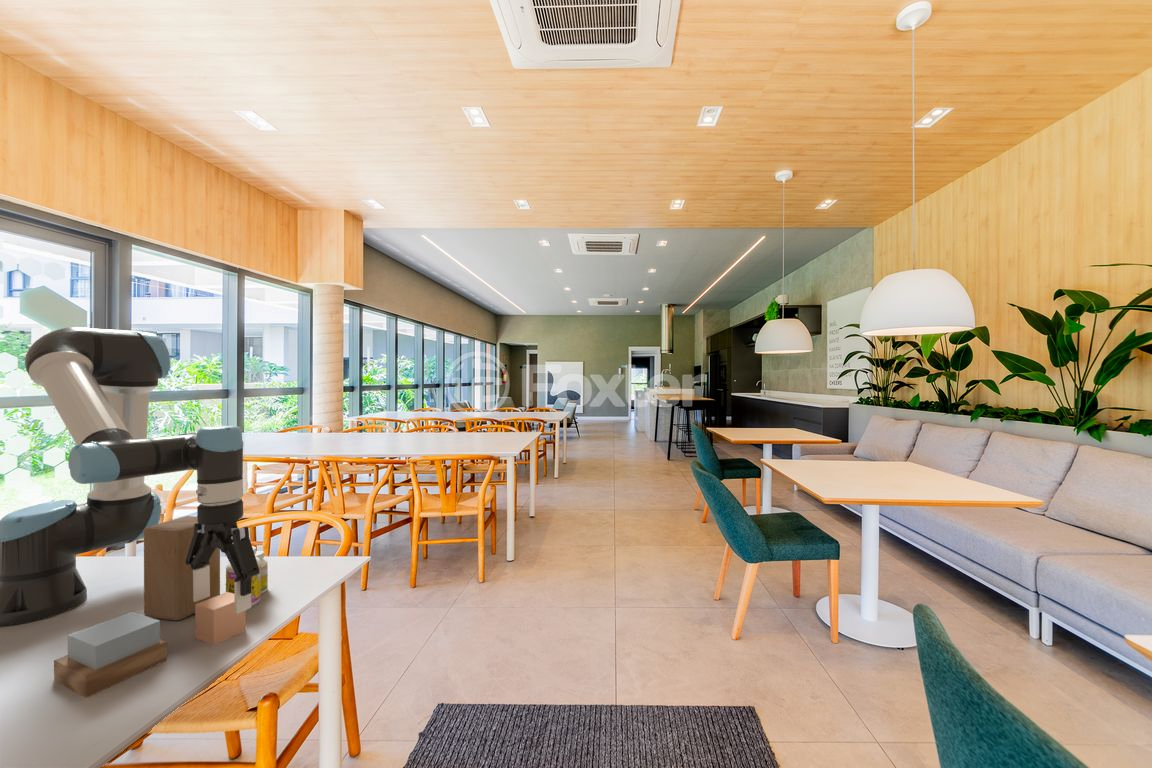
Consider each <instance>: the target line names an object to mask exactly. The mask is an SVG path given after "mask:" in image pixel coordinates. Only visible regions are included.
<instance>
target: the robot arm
mask: <svg viewBox="0 0 1152 768" xmlns="http://www.w3.org/2000/svg"><path fill="white" fill-rule="evenodd" d="M25 354H26V355H25V359H24V366H25V371H26V373H27V374H28V376H29V378H30V380H32V382H33V383H35V384H36V385H38V386H40V387H42V388H44V390H45V392H46V394H47V396H48V398H49V399H50V400H51V403H52V404H53V406H54V407H55V410H56V411H57V413H58V415H59V416H60V419H61V420H62V422H63V423H64V425H65V427H66V429H67V432H69V434H70V436H71V438H72V439H73V442H74V443H75V445H74V446H73V447H72V448H71V450H70V451H69V454H68V460H67V461H68V463H67V464H68V465H67V466H68V469H69V473H70V477H71V478H72V480H73V481H74V482H76V483H77V484H81V485H85V484H86V485H87V484H96V487H95V488H93V489H91V490H90V491H89V492H88V493H87V496H86V502H85V503H81V504H78V503H76V501H75V500H73V499H63V500H56V501H48V502H43V503H38V504H35V505H30V506H27V507H23V508H20V509H17V510H14V511H12V512H10V513H8V514H6V515H4V516H3V517H2V518H1V519H0V627H5V626H13V625H20V624H25V623H31V622H35V621H39V620H42V619H46V618H50V617H53V616H56V615H58V614H59V615H60V614H62V613H64V612H67V611H69V610H71V609H74V608H76V607H77V606H80V605H81V604H83V603H84V602H85V601H86V600H87V598H88V593H87V592H88V590H87V585H85V584H86V583H85V582H84V581H83V579H82V576H81V575H80V573H79V571H78V569H77V559H76V558H77V555H81V554H84V553H90V552H93V551H98V550H102V549H106V548H111V547H115V546H119V545H124V544H125V545H126V544H131V543H133V542H136V541H139V540H142V539H143V540H144V530H145V528H147V527H149V526H153V525H156V524H160V521H161V517H162V505H161V503H162V501H161V499H160V497H159V495H158V494H157V493H155V492H152V487H150V486H149V485H148V484H146V483H145V477H148V476H155V475H162V474H163V475H164V474H170V473H176V472H184V471H193V470H194V471H196V483H197V489H196V490H195V493H196V494H197V503H199V505H198V506H197V507H196V508H197V509H196V511H197V512H196V513H197V516H196V517H197V521H198V523H195V525H194V534H193V538H192V541H191V544H190V547H189V551H188V554H187V557H186V560H185V563H186V565H189V564H190V565H191V569H193V601H194V602H196V601H199V600H202V599H204V598H207V597H210V566H208V565H207V564H210V563H209V559H210V557H211V556H212V554H213V552H214V550H215V549H216V547H217V548H218V549H220V553H224V554H225V556H226V558H227V560H228V563H229V562H230V564H231V566H232V568H233V570H234V572H235V574H236V576H237V578H236V579H235V580H234V601H235V613H236V614H238V613H240V612H243V611H245V612H246V611H247V610H249V609H251V608H252V606H251V578H252V576H255V575H257V574H259V573H260V570H259V567H258V564H257V561H256V557H255V554H254V551H253V548H252V546H253V545H252V542H251V538H250V530H249V527H248V526H243V527H238V521H239V520H240V519H242V518H243V517H244V501H243V499H242V498H243V497H244V475H243V474H244V440H243V430H242V429H241V427H240V426H238V425H213V426H212V425H211V426H203V427H200V428H199V429H198V430H197V431H196V432H189V433H179V434H176V435H168V436H158V437H157V436H156V437H148V425H149V424H148V422H149V407H150V406H149V404H150V393H151V391H153V390H154V389H156V388H157V387H158V385H159V380H161V379H163V378H167V376H168V375H169V372H170V370H171V356H170V353H169V348H168V346H167V345H166V343H165V341H164V340H163V338H161V337H160V336H159V335H158V334H156V333H152V332H146V331H145V332H144V331H138V330H128V329H127V330H126V329H125V330H123V329H109V328H94V327H93V328H91V327H85V326H84V327H83V326H81V327H80V326H71V327H64V328H59V329H55V330H52V331H50V332H48V333H46V334H43V336H41V337H39V338H37V340H35V341H34V342H33V343H32V345H31V346H30V347H29V348H28V349H27V352H26V353H25ZM195 555H196V556H195ZM193 556H195V557H193ZM204 565H207V566H204ZM252 569H253V570H252Z"/></svg>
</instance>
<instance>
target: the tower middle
mask: <svg viewBox="0 0 1152 768" xmlns="http://www.w3.org/2000/svg"><path fill="white" fill-rule="evenodd" d="M160 640H161V620H159V619H157V618H153V617H147V616H145V614H142V613H141V614H140V613H139V612H134V611H131V612H127V613H125V614H122V615H119V616H117V617H114V618H111V619H109V620H106V621H102V622H100V623H97V624H95V625H92V626H89V627H87V628H83V629H82V630H78V631H75V632H73V633H70V634H67V655H68V658H70V659H72V660H74V661H76V662H79V663H81V664H83V665H86V666H88V667H90V668H92V669H95V670H97V669H99V668H101V667H104V666H106V665H108V664H110V663H113V662H115V661H117V660H120V659H122V658H124V657H127V656H129V655H131V654H134V653H136V652H138V651H141V650H143V649H145V648H148V647H150V646H152V645H154V644H157V643H159V642H160Z"/></svg>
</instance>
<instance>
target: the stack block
mask: <svg viewBox="0 0 1152 768" xmlns="http://www.w3.org/2000/svg"><path fill="white" fill-rule="evenodd" d="M194 614H195V618H194V619H195V622H194V623H195V625H194V627H195V629H194V631H195V639H196V640H199V641H201V642H204V643H207V644H209V645H212V646H215V645H217V644H219V643H221V642H224V641H225V640H228V639H231V638H232V637H234V636H236V635H238V634H240V633H243V632H244V631H246V610H245V611H243V612H240V613H238V614H236V613H235V601H234V594H233V593H229V592H226V591H225V592H224V593H220V595H218V596H216V597H213V598H210V599H208V600H205V601H203V602H200V603H198V604H195V613H194Z"/></svg>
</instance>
